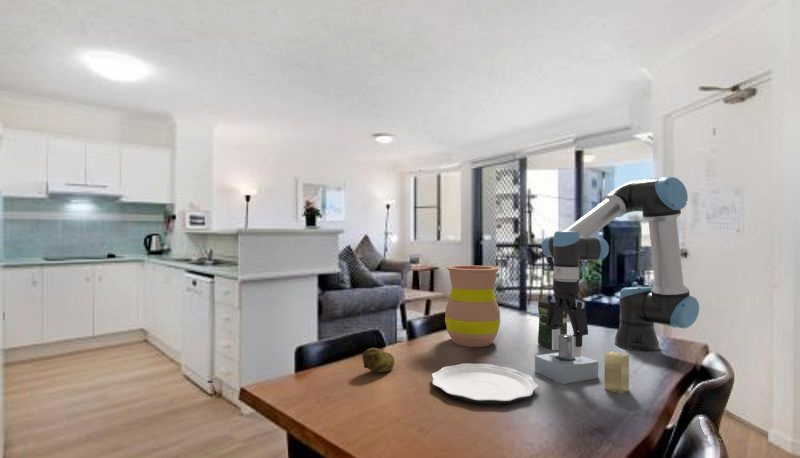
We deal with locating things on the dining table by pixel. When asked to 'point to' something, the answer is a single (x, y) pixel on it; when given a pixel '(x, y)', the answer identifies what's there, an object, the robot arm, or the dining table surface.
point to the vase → (472, 306)
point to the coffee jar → (545, 330)
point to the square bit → (617, 372)
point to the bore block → (566, 368)
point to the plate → (484, 383)
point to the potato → (378, 360)
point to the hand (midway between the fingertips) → (565, 353)
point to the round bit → (565, 347)
